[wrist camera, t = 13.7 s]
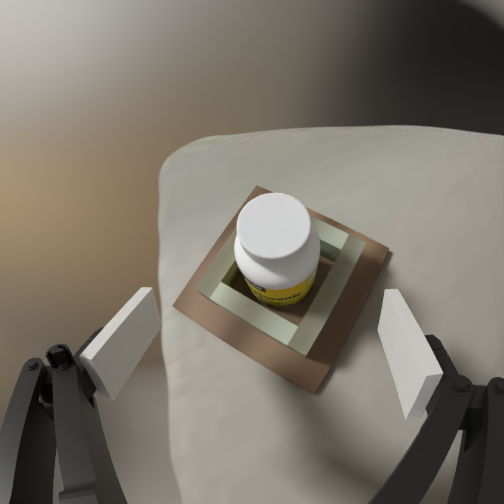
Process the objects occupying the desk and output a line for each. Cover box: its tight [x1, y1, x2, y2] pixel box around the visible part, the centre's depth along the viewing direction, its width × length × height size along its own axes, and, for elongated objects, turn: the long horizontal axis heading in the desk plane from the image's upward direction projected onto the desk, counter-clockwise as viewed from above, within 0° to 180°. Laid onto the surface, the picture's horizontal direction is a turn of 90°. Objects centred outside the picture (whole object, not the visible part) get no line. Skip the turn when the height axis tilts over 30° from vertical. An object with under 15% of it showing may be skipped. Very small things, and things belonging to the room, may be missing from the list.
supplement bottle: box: [234, 193, 320, 309], centre depth 20 cm, size 5×5×10 cm
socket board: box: [173, 186, 389, 394], centre depth 23 cm, size 14×14×4 cm
